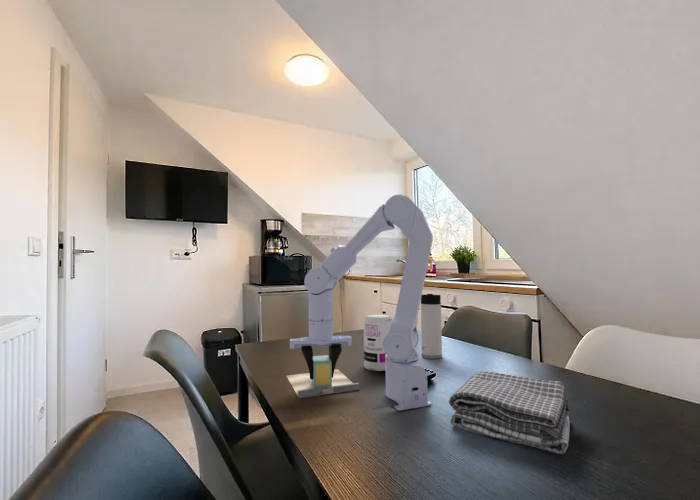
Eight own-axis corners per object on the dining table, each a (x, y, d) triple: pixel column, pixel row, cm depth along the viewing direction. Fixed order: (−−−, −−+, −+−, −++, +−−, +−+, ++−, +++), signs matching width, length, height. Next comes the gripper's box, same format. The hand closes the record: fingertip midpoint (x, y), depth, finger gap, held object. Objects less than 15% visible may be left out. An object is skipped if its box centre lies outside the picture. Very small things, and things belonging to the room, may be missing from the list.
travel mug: (420, 358, 108) (419, 293, 109) (422, 353, 114) (421, 292, 115) (441, 360, 106) (440, 294, 107) (442, 354, 112) (441, 292, 113)
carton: (328, 379, 86) (328, 355, 86) (331, 388, 80) (331, 362, 80) (311, 381, 85) (311, 356, 85) (314, 390, 79) (314, 363, 79)
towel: (473, 402, 75) (472, 365, 75) (574, 424, 64) (572, 381, 65) (447, 430, 63) (446, 385, 63) (567, 463, 52) (565, 409, 52)
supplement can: (393, 365, 101) (392, 313, 102) (394, 374, 93) (393, 318, 93) (365, 365, 102) (364, 313, 102) (363, 374, 94) (362, 317, 94)
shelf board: (359, 393, 80) (359, 384, 80) (299, 402, 75) (299, 392, 75) (337, 373, 95) (337, 364, 95) (286, 379, 90) (286, 370, 90)
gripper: (290, 323, 78) (290, 385, 77) (354, 320, 81) (354, 380, 80) (289, 318, 85) (289, 375, 84) (348, 316, 87) (349, 371, 87)
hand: (321, 377), depth 83 cm, fingers closed on carton, 4 cm apart
